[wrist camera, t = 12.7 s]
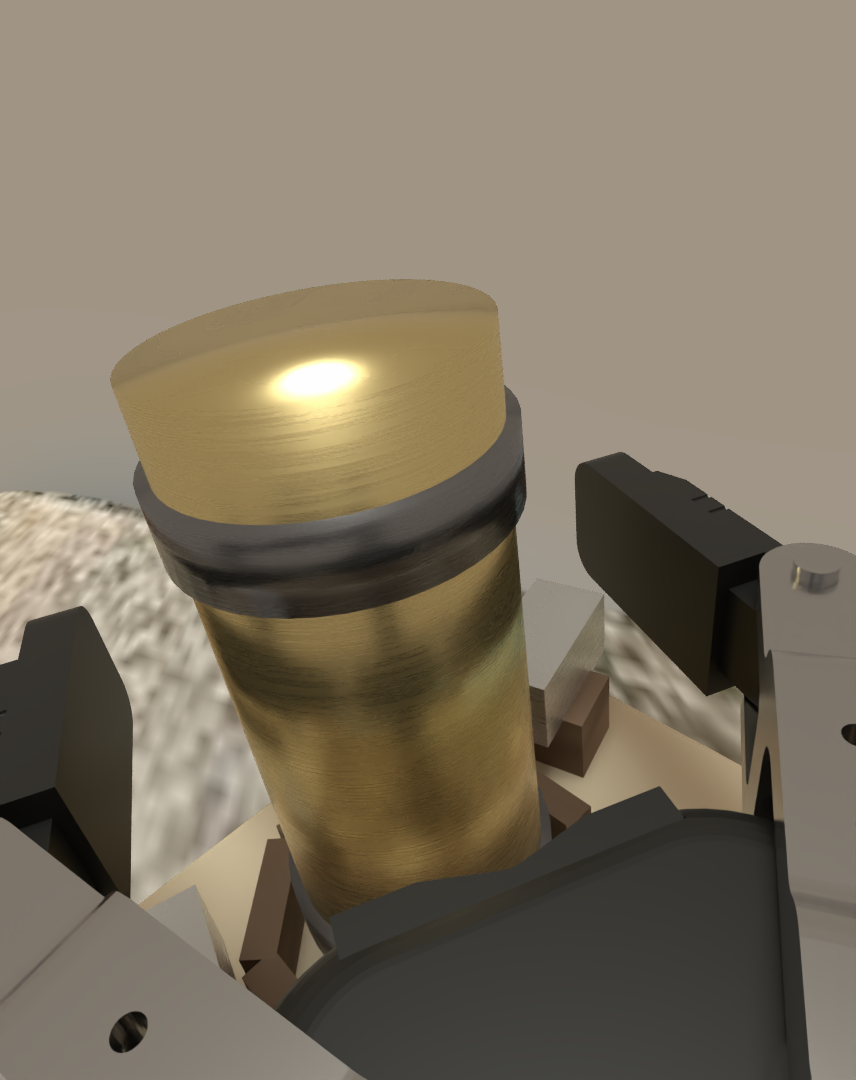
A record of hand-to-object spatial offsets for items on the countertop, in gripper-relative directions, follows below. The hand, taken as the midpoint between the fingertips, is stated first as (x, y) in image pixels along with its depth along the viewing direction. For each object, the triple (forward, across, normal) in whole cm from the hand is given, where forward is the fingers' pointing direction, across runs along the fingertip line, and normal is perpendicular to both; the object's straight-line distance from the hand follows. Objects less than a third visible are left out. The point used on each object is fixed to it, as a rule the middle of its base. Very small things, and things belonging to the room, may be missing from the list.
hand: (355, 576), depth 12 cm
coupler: (0, 0, +10) cm, 10 cm away
